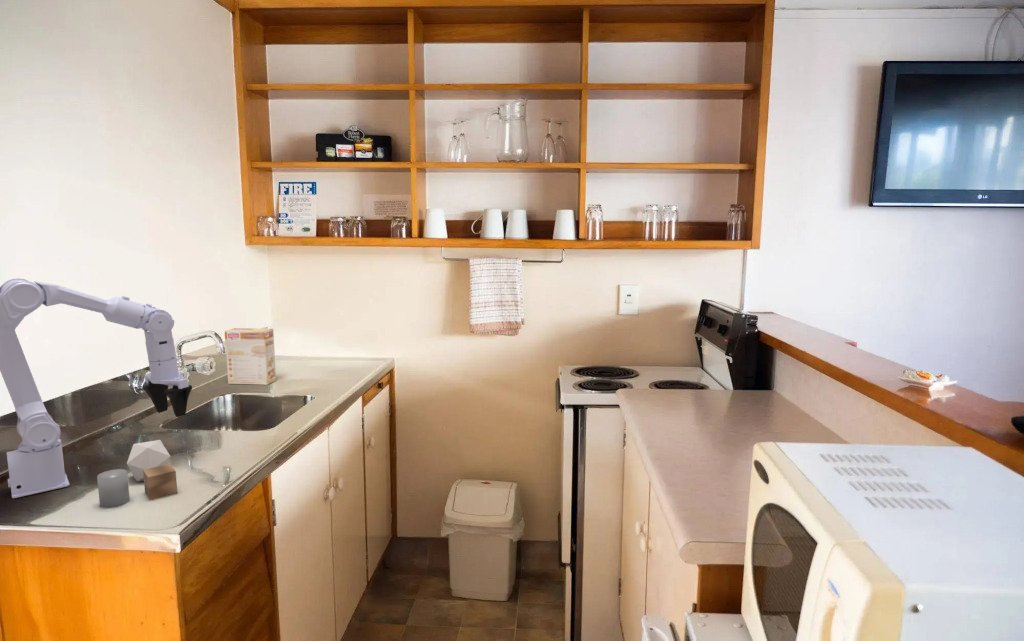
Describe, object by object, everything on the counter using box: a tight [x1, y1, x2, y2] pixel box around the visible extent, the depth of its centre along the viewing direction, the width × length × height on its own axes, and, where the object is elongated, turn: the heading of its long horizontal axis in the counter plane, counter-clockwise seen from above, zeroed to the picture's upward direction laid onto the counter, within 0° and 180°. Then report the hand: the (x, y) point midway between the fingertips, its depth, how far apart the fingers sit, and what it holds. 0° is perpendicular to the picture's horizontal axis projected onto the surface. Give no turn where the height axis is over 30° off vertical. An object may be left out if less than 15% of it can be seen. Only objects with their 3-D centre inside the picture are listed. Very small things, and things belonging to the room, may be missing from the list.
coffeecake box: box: [224, 327, 277, 386], centre depth 217 cm, size 15×7×20 cm, turn 84°
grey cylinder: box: [96, 468, 131, 509], centre depth 121 cm, size 5×5×6 cm
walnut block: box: [143, 463, 178, 501], centre depth 125 cm, size 5×5×5 cm
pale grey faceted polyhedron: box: [126, 439, 171, 483], centre depth 133 cm, size 8×9×10 cm
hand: (171, 413), depth 145 cm, fingers open, 7 cm apart
